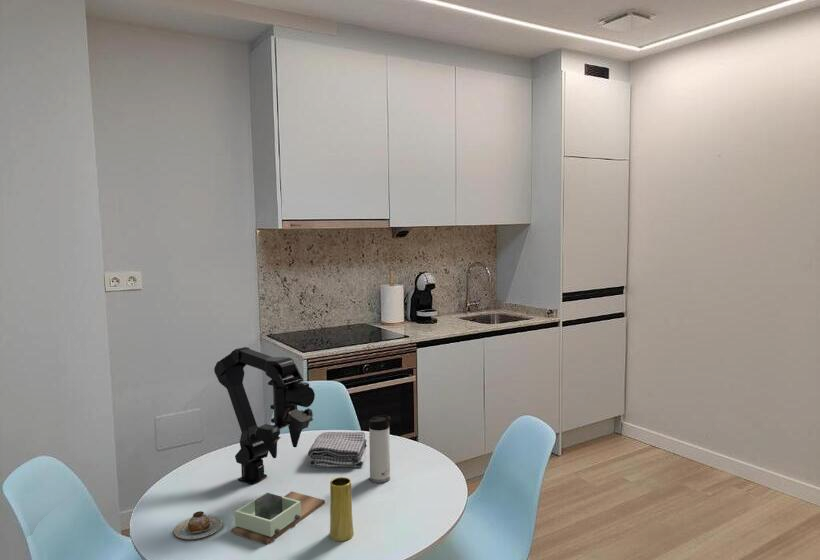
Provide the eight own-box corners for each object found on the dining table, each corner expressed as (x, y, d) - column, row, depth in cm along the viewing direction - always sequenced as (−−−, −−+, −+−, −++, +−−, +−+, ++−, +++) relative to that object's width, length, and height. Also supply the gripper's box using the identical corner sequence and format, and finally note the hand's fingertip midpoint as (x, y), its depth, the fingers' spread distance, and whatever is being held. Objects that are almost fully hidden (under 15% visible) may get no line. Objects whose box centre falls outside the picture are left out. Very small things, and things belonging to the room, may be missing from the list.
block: (255, 518, 152) (254, 500, 152) (268, 510, 156) (267, 492, 156) (269, 523, 150) (269, 504, 149) (282, 514, 154) (282, 496, 154)
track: (231, 532, 149) (231, 529, 149) (291, 494, 171) (291, 491, 170) (267, 544, 144) (267, 540, 144) (324, 503, 165) (324, 500, 165)
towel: (318, 451, 205) (317, 429, 204) (369, 452, 203) (369, 430, 203) (307, 468, 190) (306, 445, 189) (362, 470, 188) (362, 446, 187)
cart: (233, 525, 151) (232, 510, 150) (264, 505, 161) (264, 491, 161) (273, 537, 145) (273, 522, 144) (303, 516, 155) (303, 502, 155)
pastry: (221, 538, 148) (221, 521, 147) (171, 546, 144) (170, 528, 144) (222, 516, 159) (222, 500, 159) (175, 523, 156) (175, 506, 155)
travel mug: (388, 484, 177) (387, 420, 175) (367, 482, 178) (366, 419, 176) (393, 475, 183) (392, 414, 181) (372, 473, 184) (372, 412, 183)
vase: (330, 529, 151) (329, 476, 149) (353, 528, 151) (352, 475, 150) (329, 542, 145) (327, 487, 143) (353, 540, 145) (352, 486, 144)
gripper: (283, 414, 158) (285, 469, 160) (324, 396, 175) (325, 446, 176) (253, 408, 164) (254, 461, 165) (295, 391, 180) (296, 440, 181)
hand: (284, 452), depth 172 cm, fingers open, 9 cm apart
